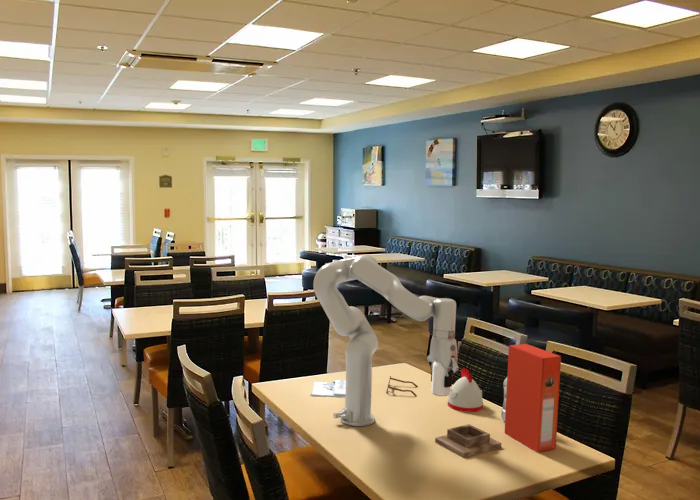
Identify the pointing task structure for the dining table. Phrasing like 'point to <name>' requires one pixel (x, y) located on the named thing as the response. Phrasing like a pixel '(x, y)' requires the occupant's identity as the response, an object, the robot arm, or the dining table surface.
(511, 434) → the file binder
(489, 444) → the caddy
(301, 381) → the dining table surface
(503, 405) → the plastic bottle
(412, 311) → the robot arm
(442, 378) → the can
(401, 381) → the glasses
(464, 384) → the kitchen timer
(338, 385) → the open book
